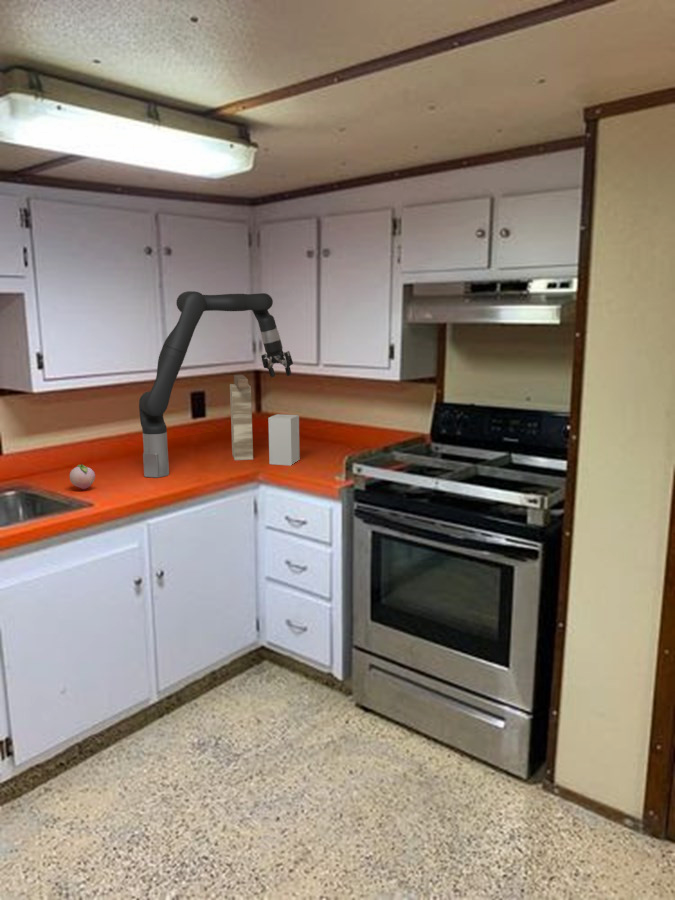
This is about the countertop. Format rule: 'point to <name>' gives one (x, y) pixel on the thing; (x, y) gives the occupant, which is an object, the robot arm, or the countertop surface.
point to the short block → (283, 439)
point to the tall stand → (241, 423)
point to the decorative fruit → (82, 476)
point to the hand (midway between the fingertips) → (281, 376)
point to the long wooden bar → (241, 381)
